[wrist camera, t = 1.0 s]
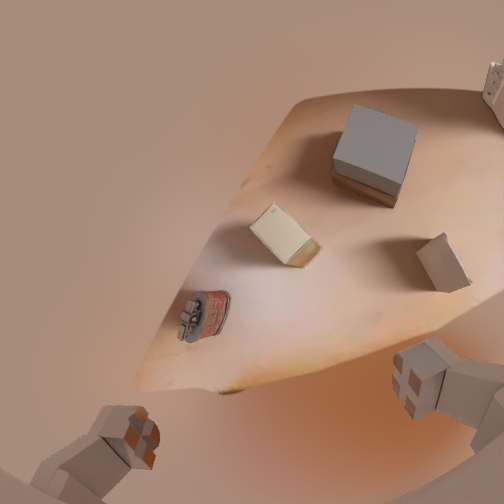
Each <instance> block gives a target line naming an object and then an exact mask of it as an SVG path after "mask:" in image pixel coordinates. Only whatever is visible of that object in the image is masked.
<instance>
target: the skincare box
mask: <svg viewBox="0 0 504 504" xmlns="http://www.w3.org/2000/svg"><path fill="white" fill-rule="evenodd" d="M250 229H251V230H252V231H253V232H254V234H255V235H256V236H257V237H258V238H259V239H260V240H261V241H262V242H263V243H264V244H265V246H266V247H267V248H268V249H269V250H270V251H271V252H272V253H273V254H274V255H275V256H276V257H277V258H278V259H279V260H280V261H281V262H283V263H284V264H286V265H291V266H296V267H301V268H305V267H306V266H307V265H308V264H309V263H310V262H311V261H313V260H314V259H315V258H316V257H317V256H318V255H319V254H320V253H321V252H322V250H323V247H322V246H321V245H320V244H319V243H318V242H317V241H316V240H315V239H314V238H313V237H312V236H311V235H310V234H309V233H308V232H307V231H306V230H305V229H304V228H303V227H302V226H301V225H300V224H299V223H298V222H297V221H296V220H295V219H294V218H292V217H291V216H290V215H289V214H288V213H287V212H286V211H285V210H284V209H283V208H282V207H281V206H279V205H278V204H277V203H276V202H275V201H274V202H273V203H272V204H271V205H270V206H269V207H268V208H267V209H266V210H265V211H264V212H263V213H262V214H261V215H260V216H259V217H258V218H257V219H256V221H255V222H254V223H253V224H252V225H251V226H250Z"/></svg>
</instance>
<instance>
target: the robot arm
mask: <svg viewBox="0 0 504 504" xmlns="http://www.w3.org/2000/svg"><path fill="white" fill-rule="evenodd" d="M482 97H483V99H484V101H485V102H486V103H487V104H488V105H489V107H490V108H491V109H492V110H493V112H494V114H495V116H496V117H497V119H498V121H499V123H500V124H501V126H502V127H503V129H504V59H503V61H502V63H501V64H499V63H497V62H491V64H490V67H489V71H488V75H487V79H486V83H485V87H484V91H483V94H482ZM393 364H394V366H395V367H396V369H395V370H394V372H393V373H392V384H393V389H394V391H395V394H396V395H397V397H398V398H399V399H400V400H403V401H405V407H404V408H405V409H406V411H407V413H408V414H409V415H410V417H411V419H412V420H413V421H414V420H416V419H418V418H420V417H423V416H425V415H427V414H429V413H431V412H433V411H435V410H436V412H438V413H440V414H442V415H445V416H447V417H449V418H451V419H454V420H456V421H458V422H461V423H463V424H465V425H468V426H470V427H473V428H475V429H478V430H477V432H476V434H475V435H474V437H473V439H472V441H471V444H470V446H471V447H472V449H473V450H474V452H475V454H474V455H473V456H471V457H470V458H468V459H467V460H466V461H464V462H463V463H461V464H460V465H458V466H457V467H455V468H453V469H452V470H450V471H449V472H447V473H445V474H444V475H442V476H440V477H438V478H437V479H435V480H433V481H431V482H429V483H428V484H426V485H424V486H422V487H420V488H418V489H416V490H414V491H412V492H410V493H408V494H406V495H403V496H401V497H399V498H397V499H394V500H392V501H390V502H387V503H385V504H504V365H499V364H493V363H487V362H483V361H477V360H472V359H467V358H465V359H464V360H462V359H460V357H458V356H457V355H456V354H455V353H454V352H453V351H452V350H451V349H450V348H449V347H447V346H446V345H445V344H444V343H443V342H442V341H441V340H440V339H438V338H437V337H435V336H432V337H430V338H428V339H426V340H424V341H422V342H421V343H418V344H416V345H414V346H411V347H409V348H407V349H405V350H402V351H400V352H397V353H395V354H394V357H393ZM159 442H160V432H159V429H158V427H157V425H156V424H155V422H153V421H152V420H150V419H149V418H148V412H147V411H146V410H145V408H144V407H141V406H120V405H117V406H113V405H106V406H104V407H103V408H102V409H101V411H100V413H99V415H98V416H97V418H96V420H95V422H94V423H93V425H92V427H91V429H90V431H89V432H88V434H87V435H83V436H81V437H80V438H78V439H77V440H75V441H74V442H72V443H71V444H69V445H68V446H66V447H64V448H63V449H61V450H60V451H58V452H57V453H55V454H53V455H52V456H50V457H49V458H47V459H45V460H44V461H42V462H41V464H40V466H39V468H38V469H37V471H36V473H35V475H34V476H33V478H32V480H31V482H30V484H27V483H25V482H23V481H21V480H20V479H18V478H16V477H15V476H13V475H11V474H10V473H8V472H6V471H5V470H3V469H2V468H0V504H107V503H105V502H103V501H102V500H101V499H102V498H103V497H104V496H105V495H106V494H107V493H108V492H109V491H111V489H113V488H114V486H115V485H117V484H118V483H119V482H120V481H121V480H122V479H123V478H124V476H126V475H127V473H128V472H129V471H130V470H131V468H132V469H145V470H152V468H153V464H154V461H155V457H156V455H155V453H154V450H155V449H156V448H157V447H158V446H159Z"/></svg>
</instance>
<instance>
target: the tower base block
mask: <svg viewBox="0 0 504 504" xmlns="http://www.w3.org/2000/svg"><path fill="white" fill-rule="evenodd" d="M414 143H415V140H414ZM413 147H414V144H413ZM412 151H413V148H412ZM412 151H411V154H412ZM410 158H411V155H410ZM410 158H409V161H410ZM408 165H409V162H408ZM408 165H407V168H408ZM406 171H407V169H406ZM331 175H332V178H333V181H334V184H336V185H338V186H341V187H344V188H346V189H349V190H351V191H354V192H356V193H358V194H361V195H363V196H366V197H368V198H370V199H373V200H375V201H377V202H380V203H382V204H384V205H386V206H389V207H391V208H394V206H395V204H396V201H397V199H398V196H399V193H400V190H401V187H402V184H403V181H404V178H405V175H406V172H405V175H404V178H403V181H402V184H401V187H400V190H399V192H398V195H397V197H395V196H392V195H390V194H388V193H386V192H383V191H381V190H379V189H376V188H374V187H371V186H369V185H367V184H364V183H362V182H359V181H357V180H354V179H351V178H349V177H346V176H344V175H341V174H338V173H336V169H335V165H334V166H333V168H332V171H331Z"/></svg>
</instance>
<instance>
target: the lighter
mask: <svg viewBox="0 0 504 504" xmlns="http://www.w3.org/2000/svg"><path fill="white" fill-rule="evenodd" d="M230 301H231V297H230V295H229V293H228V292H226V291H218V292H212V293H205V292H196V293H194V294H193V296H192V298H191V300H189V301H187V304H186V307H185V309H184V310H183V311H182V312H181V314H180V319H181V320H182V321H181V324H180V328H179V331H178V335H177V338H178V339H179V340H180V341H184V340H185V341H186V342H188V343H193V342H196V341H197V340H199V339H202V338H205V337H209V336H215V335H218V334H219V333H220V331H221V330H222V328H223V326H224V324H225V321H226V319H227V316H228V312H229V308H230Z"/></svg>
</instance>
